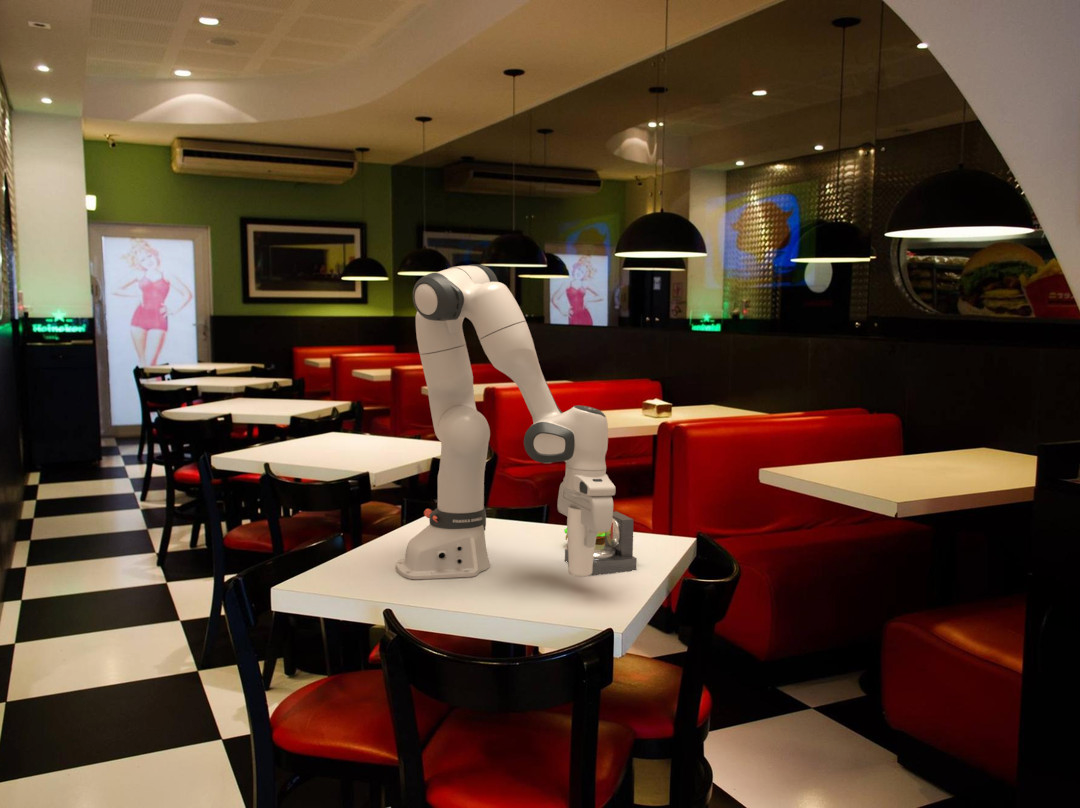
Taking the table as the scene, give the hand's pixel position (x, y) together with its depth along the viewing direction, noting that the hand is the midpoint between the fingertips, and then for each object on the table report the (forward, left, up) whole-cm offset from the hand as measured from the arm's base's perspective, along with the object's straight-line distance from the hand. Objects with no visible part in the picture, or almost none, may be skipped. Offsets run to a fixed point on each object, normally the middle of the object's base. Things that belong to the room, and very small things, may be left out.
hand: (581, 542), depth 186 cm
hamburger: (+16, +31, -11) cm, 37 cm away
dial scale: (+12, +15, -11) cm, 22 cm away
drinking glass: (0, 0, -7) cm, 7 cm away
